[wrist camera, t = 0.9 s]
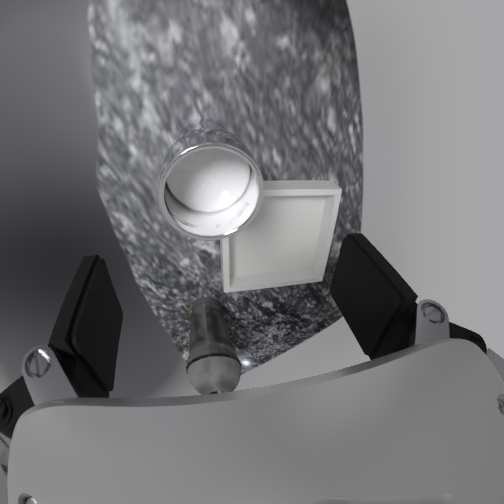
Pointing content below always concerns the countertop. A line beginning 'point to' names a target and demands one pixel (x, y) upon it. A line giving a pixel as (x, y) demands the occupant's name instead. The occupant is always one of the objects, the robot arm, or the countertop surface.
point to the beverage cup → (211, 350)
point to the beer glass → (209, 183)
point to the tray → (283, 237)
